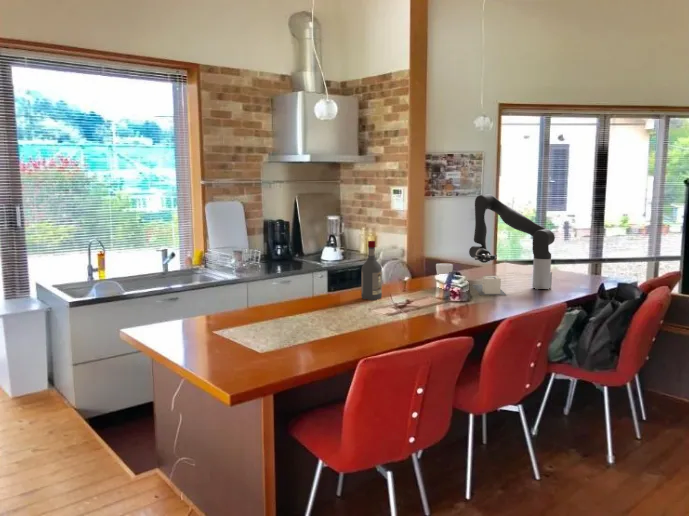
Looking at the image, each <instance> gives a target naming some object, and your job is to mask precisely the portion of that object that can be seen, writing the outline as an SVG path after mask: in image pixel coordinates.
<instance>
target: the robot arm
mask: <svg viewBox="0 0 689 516" xmlns="http://www.w3.org/2000/svg"><path fill="white" fill-rule="evenodd" d="M487 210H490V211H492V212H494V213H495V214H497V215H498V216H499V217H500V219H501V220H502V222H504V224H506V225H507V226H509V227H510V228H512V229H513V230H516V231H520V232H522V233H525V234H528V235H530V236H532V254H533V266H532V267H533V269H532V287H533V288H535V289H534V290H538V289H548V290H550V289H549V288H551V289H552V283H553V282H552V280H553V272H552V271H551V267H552V253H551V252H550V250H549V249H550V247H549V246H550V245H552V244H554V242H555V240H556V239H555V238H556V236H555V233H554V232H553V231H552V230H551V229H548V228H546V227H544V226H541V225H540V224H538V223H536V222H534V221H533V220H531V219H530V218H528V217H527V216H525V215H523V214H522V213H521V212H519V211H518V210H516V209H513V208H512V207H510V206H509V205H506V204H505V203H503V202H501V200H499V199H498V198H497V197H495V196H494V195H493V194H491V193H483V194H480V195H478V196H476V197H475V199H474V220H475V221H474V222H475V223H474V224H475V225H474V235H473V236H474V237H473V242H474V243H475V244H479V245H478V246H476V245H474V246H470V248H469V249H468V255H469V256H470V258H473V259H474V260H475V261H479V262H481V263H482V264H483V263H484V264H485V263H488V262H491V261H495V260H497V258H498V257H497V254H491V252H490V251H489V250H487V243H486V241H487V229H488V228H487V225H486V220H485V215H486V211H487ZM480 245H481V246H480ZM533 288H532V289H533Z"/></svg>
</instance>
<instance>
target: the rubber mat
mask: <svg viewBox="0 0 689 516" xmlns="http://www.w3.org/2000/svg"><path fill="white" fill-rule="evenodd" d="M471 286H472V288H473V289H474V290H475V291H476V292H477V293H478V295H479V294H480V295H507V294H506V292H504V291H503V290H502V289H501V288H500V294H485V293H484V292H483V291H482V286H483V284H471ZM480 295H479V296H480Z"/></svg>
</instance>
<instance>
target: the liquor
mask: <svg viewBox="0 0 689 516" xmlns="http://www.w3.org/2000/svg"><path fill="white" fill-rule="evenodd" d="M367 251H368V252H367V256H368V257H367V260H366V261H365V262H364V263H363V265H362V266H361V270H360V271H361V273H360V274H361V278H360V279H361V289H360V290H361V291H360V292H361V295H360V296H361V299H363V300H365V299H368V300H367V301H377V299H378V300H380V299H382V294H383V293H382V290H383V289H382V286H383V285H382V279H383V278H382V277H383V276H382V275H383V269H382V266H381V264H380V263H379V262H378V261H377V259H376V241H375V240H368V241H367Z"/></svg>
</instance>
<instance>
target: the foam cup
mask: <svg viewBox="0 0 689 516" xmlns="http://www.w3.org/2000/svg"><path fill="white" fill-rule="evenodd" d="M435 269H436V276H437V275H439V274H445V273H449V272H452V273H453V269H454V264H452V263H436V264H435Z"/></svg>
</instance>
